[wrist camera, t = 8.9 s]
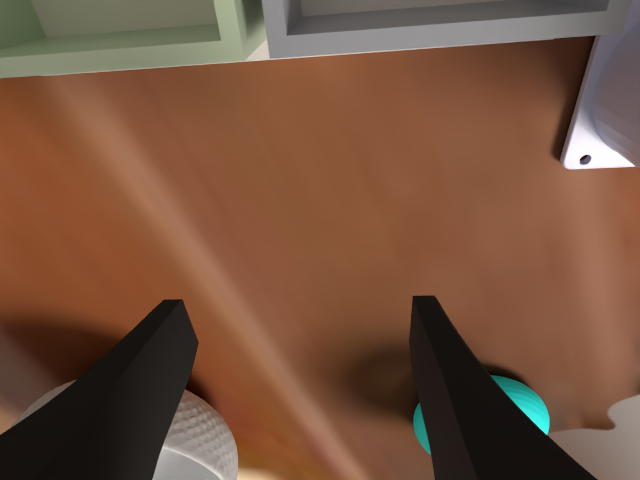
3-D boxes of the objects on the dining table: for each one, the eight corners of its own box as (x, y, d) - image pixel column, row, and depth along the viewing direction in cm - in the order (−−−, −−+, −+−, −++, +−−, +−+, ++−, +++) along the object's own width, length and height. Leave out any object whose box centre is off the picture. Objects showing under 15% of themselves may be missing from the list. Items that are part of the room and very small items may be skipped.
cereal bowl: (101, 450, 40) (60, 533, 34) (14, 340, 31) (-63, 428, 25) (266, 452, 38) (251, 539, 33) (228, 336, 29) (198, 430, 23)
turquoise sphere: (491, 592, 28) (398, 550, 24) (458, 450, 36) (385, 402, 32) (639, 564, 23) (552, 507, 20) (564, 408, 32) (493, 347, 28)
